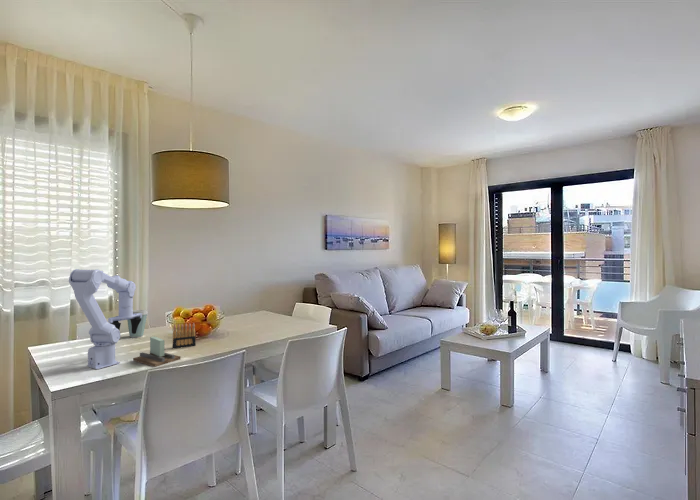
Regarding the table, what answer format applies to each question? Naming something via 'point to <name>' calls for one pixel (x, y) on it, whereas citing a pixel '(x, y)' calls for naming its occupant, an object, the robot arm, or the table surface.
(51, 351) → the table surface
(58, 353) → the table surface
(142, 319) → the disposable coffee cup
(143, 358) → the track base
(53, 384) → the table surface
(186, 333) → the ammunition clip
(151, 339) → the grey-green rectangular block
